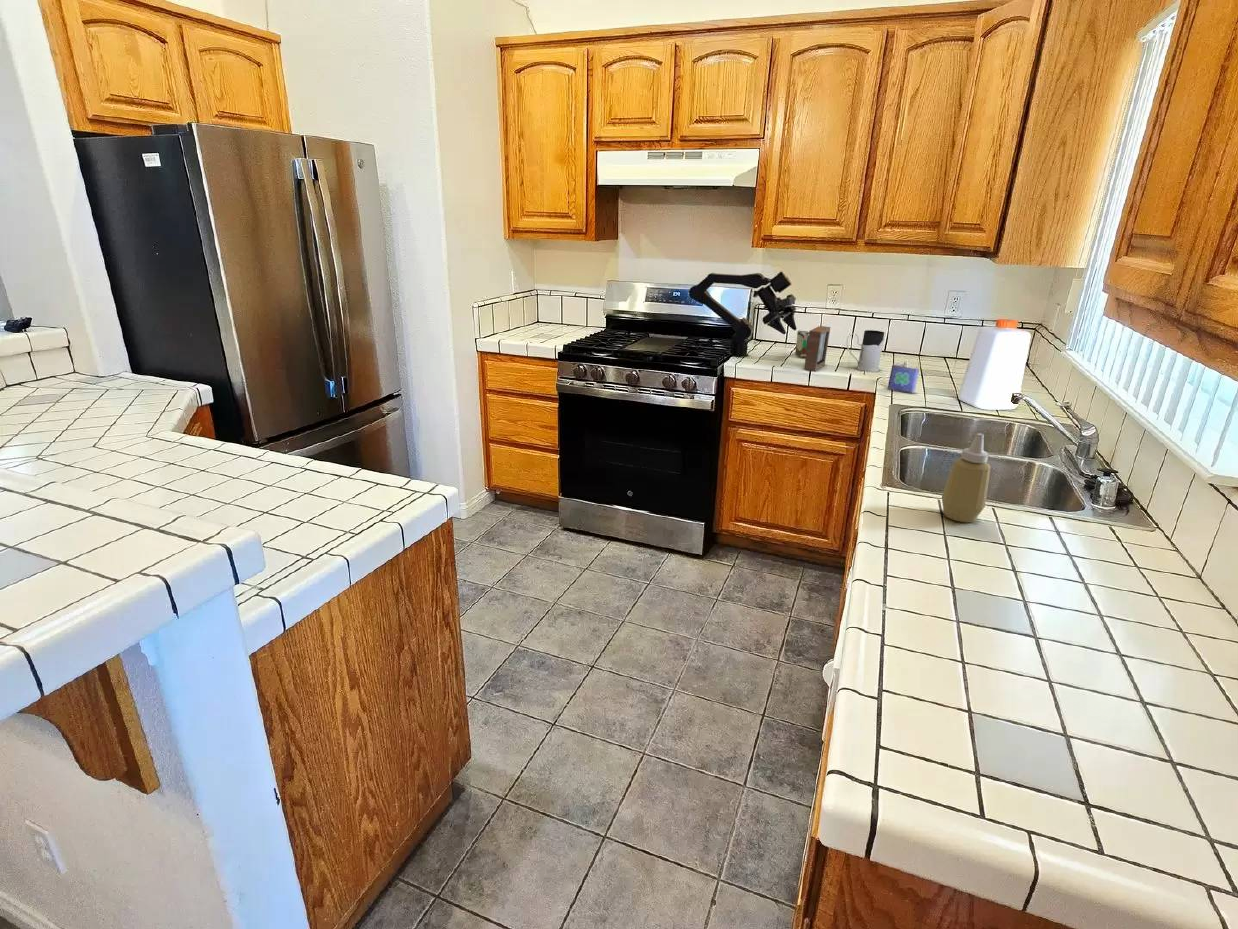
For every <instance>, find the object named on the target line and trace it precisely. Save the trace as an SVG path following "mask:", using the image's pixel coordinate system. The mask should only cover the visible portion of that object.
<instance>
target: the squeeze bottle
mask: <svg viewBox="0 0 1238 929" xmlns="http://www.w3.org/2000/svg"><path fill="white" fill-rule="evenodd" d="M984 436H985V434H984V433H979V432H978V433H976V434H975V437H974V438H973V440H972V442H971V444H970V446H969V447H965V448H963V449H962V451H961V456H960V457H958V458H956V459H955V460H954V461H953V464H952V467H951V469H950V473H949V475H948V477H947V481H946V483H945V486H944V489H943V491H942V494H941V503H942V509H943V515H944V516H945V517H947V518H948V519H950V520H953V521H955V522H960V523H972V522H975V521H976V520H977V518H978V517H979V516H980V514H981V513H982V511H983V510H984V509H985V508H986V502H987V496H988V489H989V482H990V476H991V465H990V464H989V463H988V459H989V456H990V455H989V452H987V451H986V450H984V440H985V438H984Z"/></svg>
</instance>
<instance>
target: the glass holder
mask: <svg viewBox="0 0 1238 929" xmlns="http://www.w3.org/2000/svg"><path fill="white" fill-rule="evenodd" d="M852 335H855V336H856V338H857V345H859V346H860V351H859V357H858V358H857V357H855V355H854V354H853V353H852V352H851V351H850V347H849V338H850V337H851V336H852ZM884 337H885V332H884V331H881V330H875V329H874V330H873V329H869V330H867V329H866V330H864V331H863V338H862V341H861V342H862V343H859V342H860V338H859V335H858V334H857V333H850V334H849V335H848V336H847V338H846V348H847V351H848V353H849V354H850V355H851V356H852V358H854V359H855V360H856V361H857V366H856V369H857V370H858V371H863V372H868V373H869V372H871V373H877V372H880V368H879V367H880V361H881V356H882V351H883V345H884V341H885V340H884V339H885V338H884Z"/></svg>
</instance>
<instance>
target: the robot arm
mask: <svg viewBox="0 0 1238 929" xmlns="http://www.w3.org/2000/svg"><path fill="white" fill-rule="evenodd" d="M713 284H723V285H724V284H725V285H726V284H727V285H740V286H744V287H747V288H751V289H757V290H753V294H752V297H753V298H755V299H756V298H758V297H759V299H760V300H761V302H762V304H763V305H764V306H763V309H764V310H767V312H768V313H767V314H766V315H764V316H763V317H762V323H763V324H764V325H766V326H768V327H770V328H772V329H774V330H776V331H777V332H778V333H780V334H782V335H786V334H787V332H786V329H785V327H784V325H783V323H785V324H786V325H787V326H788V327H789V328H790V329H792V330H793V331H797V328H798V327H797V325H796V321H795V313H796V310H797V308H796V306H795V305H796V299H797V298H796V297H795V295H793V293H791V294H787V295H786V297H785V298H781V297H780V296H777V295H776V293H779V294H781V293H782V292H784V291H785V290H786V289H788V288H789V287H791V286H792V282H791V280H790V279H789V277H788V276H787V275H786V274H784V272H783V271H782V270H781V271H779V272H778V273H777V274H776V275H775V276H774V277H772V278H769V277H765V276H764V274H762V273H760V272H753V273H747V274H734V273H733V274H730V273H715V272H711V273H708V274H707V276H706V277H705V278H704V279H702V280H701V281H700V282H699V283H697V284H695V285H693V286H691V287H690V288H689V290H688V296H689V297H690V299H691V300H693V301H695V302H697V303H699V304H702V305H704V306H705V307H707V308H708V309H709V310H711V311H712V312H713V313H714V314H716V315H717V317H719V318H720V319H722V320H723V321H724V322H725V323H727V324H728V325H729V326H730V327H731V329H732V330H733V331H734V334H733V335H732V336H731V344H730V352H727V355H729V356H733V357H737V358H742V357H743V358H744V357H748V356H750V355H749V354H748V347H749V346H748V343H749V342H748V341H747V340H748V339H749V338H750V337H751V336H752V335H753V333H754V326H753V325H752V322H751V321H748V319H747V318H746V317H742V318H738V317H737V316H736V315H734V314H733V313H732V312H731V311H729V310H728V309H727V308H726V307H725V306H724V305H723V304H721V303H720V302H718V300H716V299H714V298H713V297H712V295H711V293H710V292H709V291H708V289H709V288H711V287H712V286H713ZM782 322H783V323H782Z"/></svg>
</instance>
